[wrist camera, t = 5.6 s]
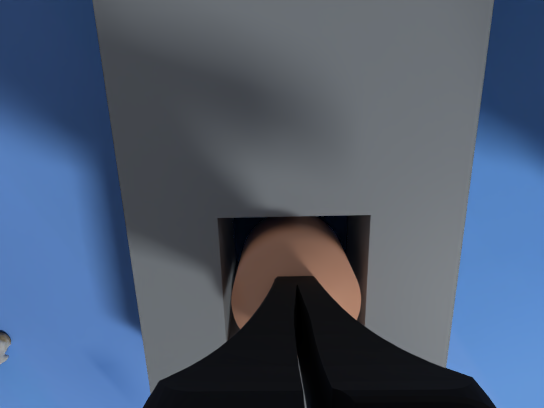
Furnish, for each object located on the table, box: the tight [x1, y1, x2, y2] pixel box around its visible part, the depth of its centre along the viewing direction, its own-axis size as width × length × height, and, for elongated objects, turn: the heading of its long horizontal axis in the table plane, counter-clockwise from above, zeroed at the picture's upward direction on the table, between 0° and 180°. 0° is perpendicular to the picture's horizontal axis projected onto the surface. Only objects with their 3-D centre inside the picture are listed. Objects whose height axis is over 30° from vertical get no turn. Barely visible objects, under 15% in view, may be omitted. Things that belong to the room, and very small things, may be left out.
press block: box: [92, 0, 494, 408], centre depth 13 cm, size 12×26×4 cm, turn 2°
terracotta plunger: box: [231, 216, 361, 356], centre depth 13 cm, size 4×4×4 cm
